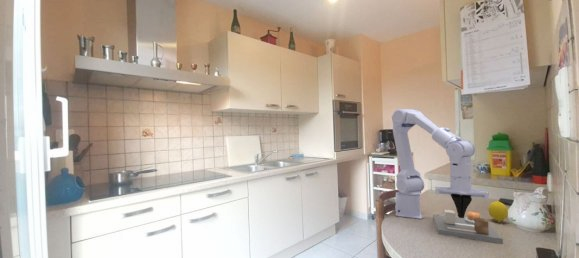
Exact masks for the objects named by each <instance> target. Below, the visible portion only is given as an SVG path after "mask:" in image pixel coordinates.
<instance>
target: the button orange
mask: <svg viewBox="0 0 579 258" xmlns="http://www.w3.org/2000/svg"><path fill="white" fill-rule="evenodd" d="M466 212H467V216H466V217H468V219H471V220H474V218H481V213H479V212H476V211H470V210H469V211H466Z"/></svg>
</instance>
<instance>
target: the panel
mask: <svg viewBox="0 0 579 258" xmlns="http://www.w3.org/2000/svg"><path fill="white" fill-rule="evenodd" d="M432 220H433V221H434V225H435V228H436V231H437V234H438V235H442V236H449V237H454V238H462V239H467V240H476V241H483V242H489V243H496V244H504V239H503V237H502V236H501V235H500V234H499V233H498V232H497V231H496V230H495V229H494V227H493V226H492V225H491V224H490V223H489V222H488V230H489V235H488V234H481V233H477V232H476V231H475V230H474V220H471V219H468V217H467V216H465V217H464V218H459V217H456V216H455V223H456V225H455V224H447V223H445V221H444V215H440V214H439V215H438V214H432Z"/></svg>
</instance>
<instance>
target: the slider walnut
mask: <svg viewBox="0 0 579 258" xmlns="http://www.w3.org/2000/svg"><path fill="white" fill-rule="evenodd" d="M488 223H489V221H488V219H486V218H482V217H480V218H474V230H475V231H476V232H477V233H481V234H488V235H489V230H488Z"/></svg>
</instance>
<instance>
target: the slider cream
mask: <svg viewBox="0 0 579 258" xmlns="http://www.w3.org/2000/svg"><path fill="white" fill-rule="evenodd" d="M443 216H444V221H445V223H447V224H455V225H456V223H455V217H456V212H455V211H454V210H452V209H444V210H443Z"/></svg>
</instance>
